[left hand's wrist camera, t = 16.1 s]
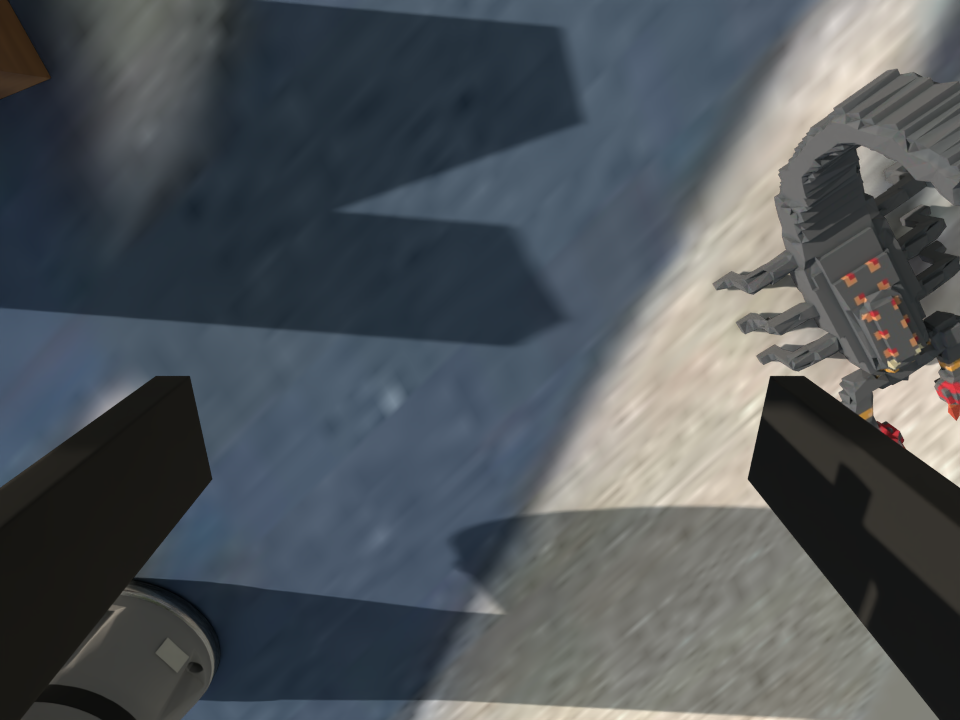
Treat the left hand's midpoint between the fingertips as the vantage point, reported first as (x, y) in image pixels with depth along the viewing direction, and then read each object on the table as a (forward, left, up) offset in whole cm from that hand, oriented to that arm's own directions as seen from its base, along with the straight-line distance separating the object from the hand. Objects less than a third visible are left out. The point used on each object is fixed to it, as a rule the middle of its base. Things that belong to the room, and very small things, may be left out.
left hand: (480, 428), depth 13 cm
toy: (+15, -19, -26) cm, 35 cm away
